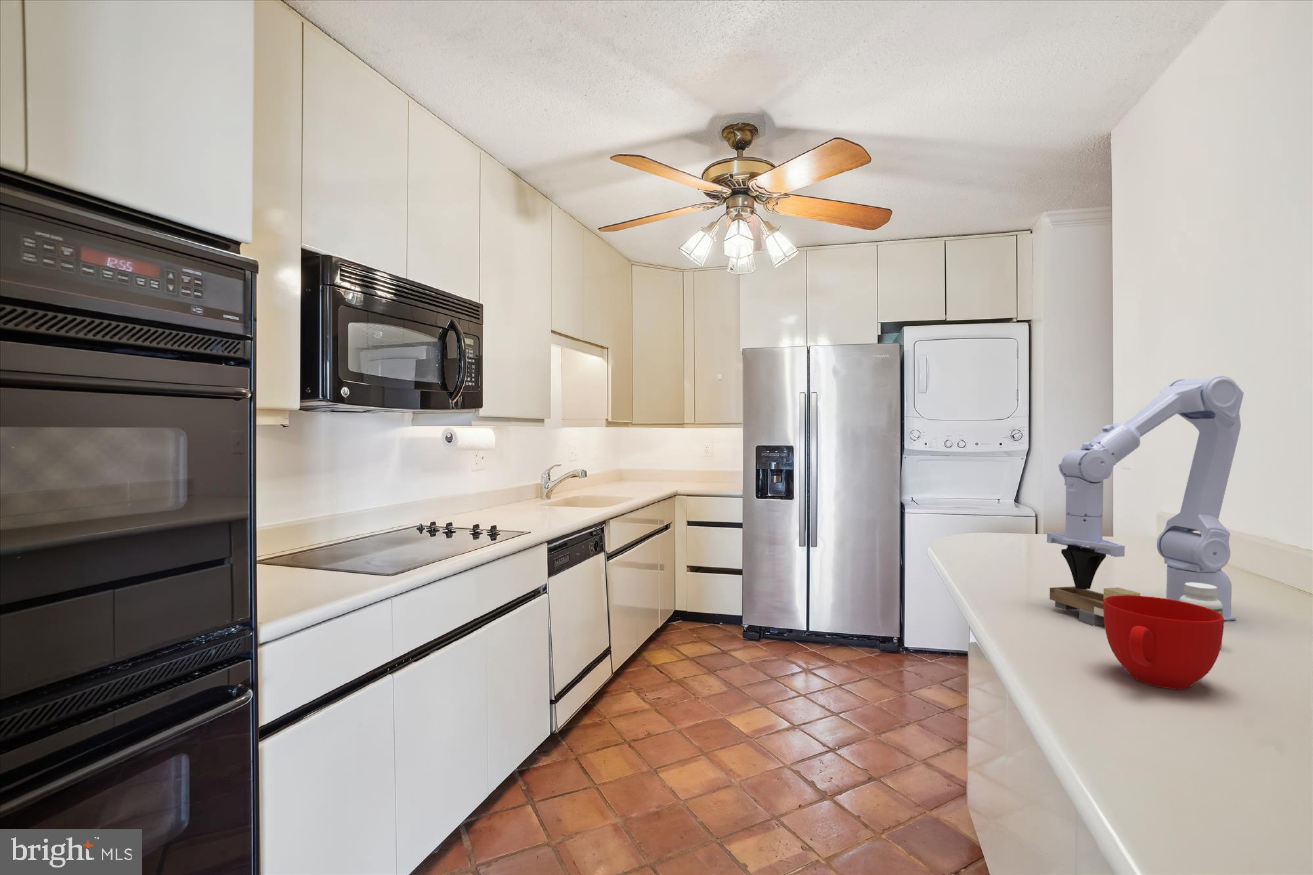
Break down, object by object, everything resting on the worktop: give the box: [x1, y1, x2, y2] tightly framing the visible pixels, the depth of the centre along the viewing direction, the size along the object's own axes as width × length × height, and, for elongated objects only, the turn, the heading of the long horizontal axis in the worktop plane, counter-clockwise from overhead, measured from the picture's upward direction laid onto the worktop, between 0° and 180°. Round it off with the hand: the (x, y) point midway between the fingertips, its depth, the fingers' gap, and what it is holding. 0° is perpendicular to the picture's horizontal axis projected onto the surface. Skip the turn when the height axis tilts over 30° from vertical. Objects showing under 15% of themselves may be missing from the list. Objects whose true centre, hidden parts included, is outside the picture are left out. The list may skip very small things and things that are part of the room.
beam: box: [1049, 585, 1105, 626], centre depth 113 cm, size 7×17×4 cm, turn 13°
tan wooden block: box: [1103, 587, 1141, 600], centre depth 110 cm, size 3×4×3 cm
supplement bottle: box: [1179, 582, 1223, 647], centre depth 102 cm, size 5×5×10 cm
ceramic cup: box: [1103, 595, 1225, 690], centre depth 86 cm, size 13×17×10 cm
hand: (1082, 588), depth 117 cm, fingers closed
